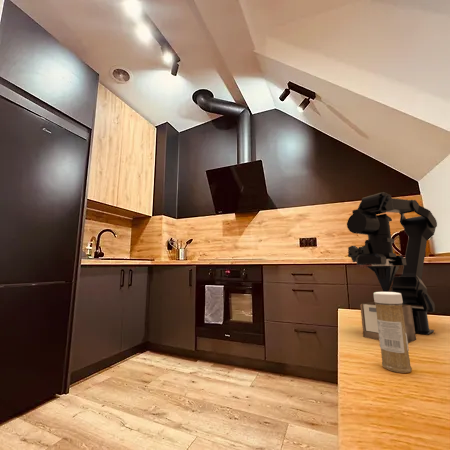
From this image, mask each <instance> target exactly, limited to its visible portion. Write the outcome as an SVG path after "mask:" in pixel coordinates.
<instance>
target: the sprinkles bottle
mask: <svg viewBox="0 0 450 450" xmlns="http://www.w3.org/2000/svg"><path fill="white" fill-rule="evenodd" d="M373 300H374V301H373V302H375V305H376V311H377V323H378V332H379V347H380V353H381V354H380V355H381V366H382V367H383V368H384V369H385V370H388V371H391V372H393V373H398V374H399V373H402V374H407V373H411V372H412V370H413V369H412V368H413V367H412V366H411V360H410V355H409V354H410V350H409V343H408V341H407V334H406V331H405V323H404V316H403V310H402V303H403V300H402V295H401V293H396V292H391V291H388V292H385V291H375V292H373Z"/></svg>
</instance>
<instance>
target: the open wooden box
mask: <svg viewBox="0 0 450 450" xmlns="http://www.w3.org/2000/svg"><path fill="white" fill-rule="evenodd" d="M363 304H367V305H375V302H374V301H372V302H366V303H361V304H360V305H359V306H360V314H361V315H360V317H361V324H362V327H361V328H362V335H363V338H369V339H373V340H379V333H377V332H371V331H366V325H365V316H364V306H363ZM412 306H413V305H406V304H405V305H402V310H403V316H404V323H405V331H406V334H407V341H408V344H410V343H412V342H414V341H416V340H417V335H416V333H415V327H414V320H413V313H412Z"/></svg>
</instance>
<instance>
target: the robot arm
mask: <svg viewBox="0 0 450 450" xmlns="http://www.w3.org/2000/svg"><path fill="white" fill-rule="evenodd" d="M387 213H394V214H395V213H398V214H399V215H400V219H399V224H400V225H401V226H402V227H403V230H404V232H405V234H406V235H407V236H408V239H407V244H406V250H405V255H404V256H403V255H397V253H396V252H395V253H394V247H393V244H394V243H395V238H392V234H391V227H390V222H392V221H393V219H392V217H390V216H389V215H388V214H387ZM407 213H415V214H416V215H419V216H412V217H407V218H406V216H405V214H407ZM346 227H347V229H348V231H349V232H350V233H352V234H357V235H366V236H367V239H365V241H364V245H363V246H356V245H351V246H348V248H347V257H348V258H351V261H352V263H356V266H357V265H359V266H360V265H363V266H364V265H366V267H367V269H369V270H371V271H372V272H374V274H375V277H377V280H378V283H379V284H380V287H381V290H382V292H396V293H401V295H402V300H403V303H402V305H411V306H412V313H413V320H414V327H415V334H420V335H430V334H432V333H434V332H435V329H431V328H430V325H429V319H428V313H429V312H430V313H434V312H435V311H436V309H435V308H436V305H435V301H433V299H432V297H431V296H430V295H429V293H428V288H427V286H426V285H425V284H424V282H423V280H422V276H423V271H424V264H425V256H426V249H427V242H428V240H430V239H431V238H433V236H434V235H435V232H436V228H437V227H438V221H437V219H436V217H435V216H434V215H433V213H432V211H431V209H430V210H429V209H428V208H426V207H424V206H422V205H420V204H419V203H418V201H417V200H416V199H401V198H393V197H392V195H391V194H389V193H387V192H384V191H383V192H378V193H375V194H372V195H371V194H370V195H368V196H365V197H362V198H361V201H360V203H359V206H358V208H356V209H353V210H352V214H351V215H350V216H349V218H348V219H347V223H346ZM367 265H368V266H367ZM400 266H402V267H403V268H402V273H401V275H399V276H396V275H397V274H396V273H397V272H398V269H400ZM390 289H391V291H390Z"/></svg>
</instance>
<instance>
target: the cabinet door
mask: <svg viewBox="0 0 450 450" xmlns="http://www.w3.org/2000/svg"><path fill="white" fill-rule="evenodd" d="M362 304H363V306H364V316H365V325H366V331H371V332H377V333H379V332H378V323H377V311H376V305H367V304H365V303H362Z"/></svg>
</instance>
